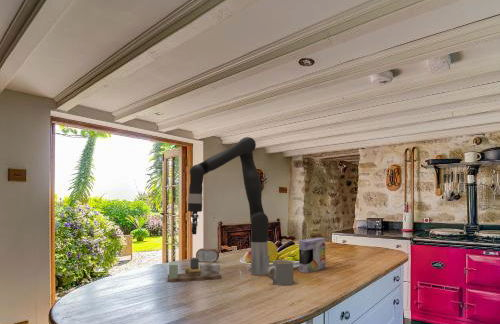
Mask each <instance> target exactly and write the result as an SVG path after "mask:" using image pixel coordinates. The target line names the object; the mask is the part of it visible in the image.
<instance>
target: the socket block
mask: <svg viewBox="0 0 500 324" xmlns="http://www.w3.org/2000/svg"><path fill="white" fill-rule="evenodd" d="M178 274H179V263H178V261H170V262H168V275H169V279H173V278H178Z"/></svg>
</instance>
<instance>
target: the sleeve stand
mask: <svg viewBox="0 0 500 324" xmlns="http://www.w3.org/2000/svg"><path fill="white" fill-rule="evenodd" d="M220 266H221V265H220V264H219V262H217V263H215V262H212V263H199V267H201V273H197V274H185V273H178V278H173V279H169V274H167V283H178V282H179V283H180V282H194V281H196V282H197V281H198V282H199V281H213V280H222V274H221V273H220V272H221V270H220Z"/></svg>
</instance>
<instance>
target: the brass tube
mask: <svg viewBox="0 0 500 324" xmlns="http://www.w3.org/2000/svg"><path fill="white" fill-rule="evenodd" d="M189 259H190V260H189V267H185V268H184V271H185V272H184V274H197V273H201V267H200V262H199V259H198V258H196V257H190V258H189Z"/></svg>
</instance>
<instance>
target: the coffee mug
mask: <svg viewBox="0 0 500 324" xmlns="http://www.w3.org/2000/svg"><path fill="white" fill-rule="evenodd" d="M271 272H272V275H271ZM266 276H267V277H268V279H270V280H271V281H272V283H273V284H274V285H278V286H290V285H293V284H294V262H293V260H291V259H290V260H288V259H276V260H273V261H272V266H269V268H268V271H267V275H266Z"/></svg>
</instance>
